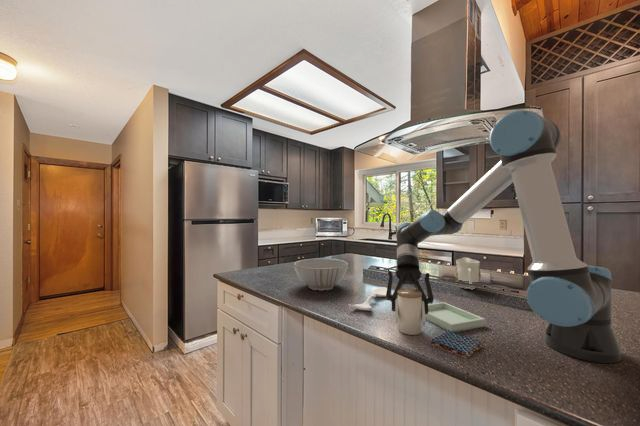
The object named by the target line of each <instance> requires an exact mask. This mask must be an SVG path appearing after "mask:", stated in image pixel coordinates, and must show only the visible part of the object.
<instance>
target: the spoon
mask: <svg viewBox="0 0 640 426" xmlns="http://www.w3.org/2000/svg"><path fill="white" fill-rule="evenodd" d="M386 293H387V287H385V286H382V287H381V286H380V287H376V288H373V289H372V290H371V291H370V294H368V297H367V298H366V300H365V301H364V302H363V303H356V304H351V303H348V304H347V307H348V308H353V309H355V310H359V311H371V310H372V308H373V307H372V306H371V305H370V302H371V300H372V299H373V298H376V297H378V298H383V297H384V298H386ZM391 294H393V292H392V290H391Z"/></svg>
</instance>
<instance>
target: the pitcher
mask: <svg viewBox="0 0 640 426" xmlns="http://www.w3.org/2000/svg"><path fill="white" fill-rule="evenodd" d="M455 263H456V267H455V271H454V278H455V280H456V279H458V280H462V281H469V284H472V282H479V281H480V282H481V278H482V277H481V275H482V274H481V269H480V263H481V262H480V261H479V260H477V259H472V258H470V257H464V256H463V257H461V258H457V259H456V260H455Z"/></svg>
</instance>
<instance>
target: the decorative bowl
mask: <svg viewBox="0 0 640 426" xmlns="http://www.w3.org/2000/svg"><path fill="white" fill-rule="evenodd" d="M348 267H349V263H348V261H345V260H342V259H337V258H309V259H308V258H307V259H301V260H297V261H295V262H294V263H293V268H294V270H295V272H296V275H297V277H298V278H299V279H300V281H301V282H302V283H304V284H305V285H306V286H308V289H309V288H310V289H309V290H311V289H312V291H316V290H319V292H321V291H322V292H323V291H324V290H326V291H329V290H330V291H331V290H333V289H334V288H333V287H335V286H336V285H337V284H339V283H340V282H341V281H342V280H343V278H344V276H345V274H346V273H347V270H348ZM324 292H325V291H324Z"/></svg>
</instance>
